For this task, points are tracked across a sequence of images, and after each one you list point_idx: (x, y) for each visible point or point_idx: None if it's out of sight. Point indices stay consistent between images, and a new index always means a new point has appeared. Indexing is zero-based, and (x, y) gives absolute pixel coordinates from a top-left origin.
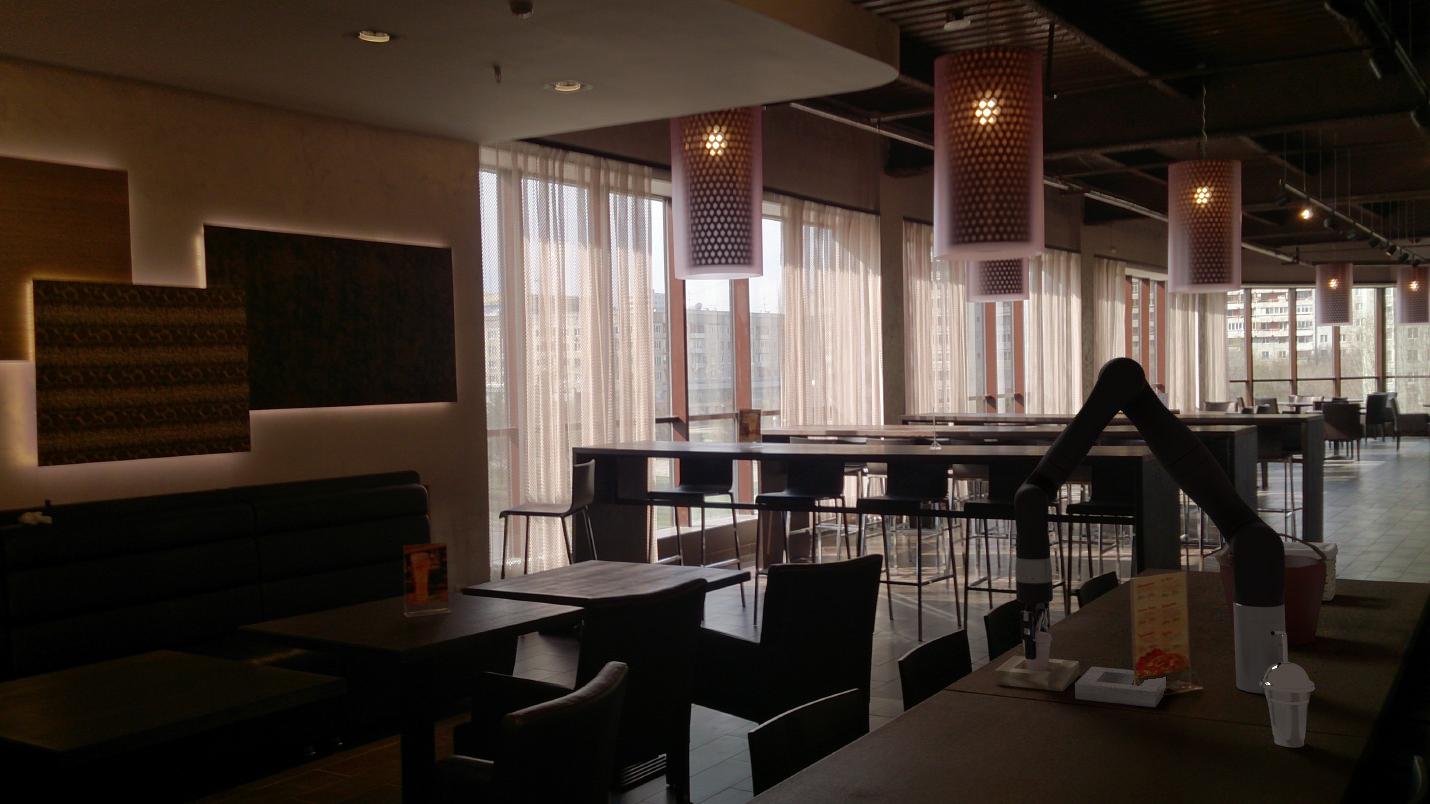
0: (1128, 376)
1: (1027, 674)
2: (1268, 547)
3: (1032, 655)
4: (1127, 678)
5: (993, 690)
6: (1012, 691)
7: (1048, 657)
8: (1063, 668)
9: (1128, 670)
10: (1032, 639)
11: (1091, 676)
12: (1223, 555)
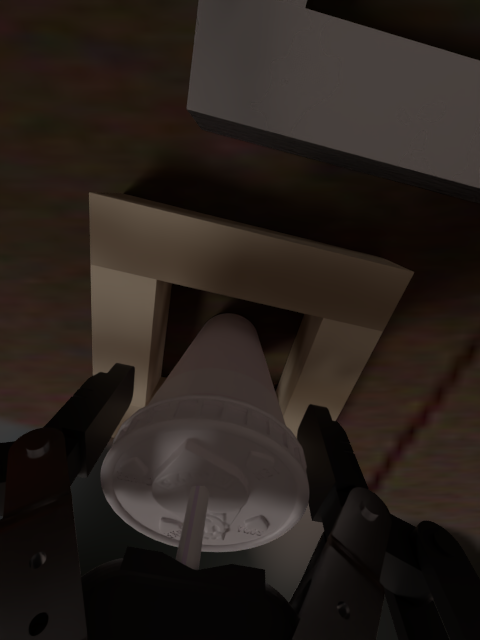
0: None
1: (346, 393)
2: None
3: (344, 431)
4: None
5: (362, 438)
6: (375, 400)
7: (233, 349)
8: (256, 268)
9: None
10: (450, 535)
11: (428, 111)
12: None
